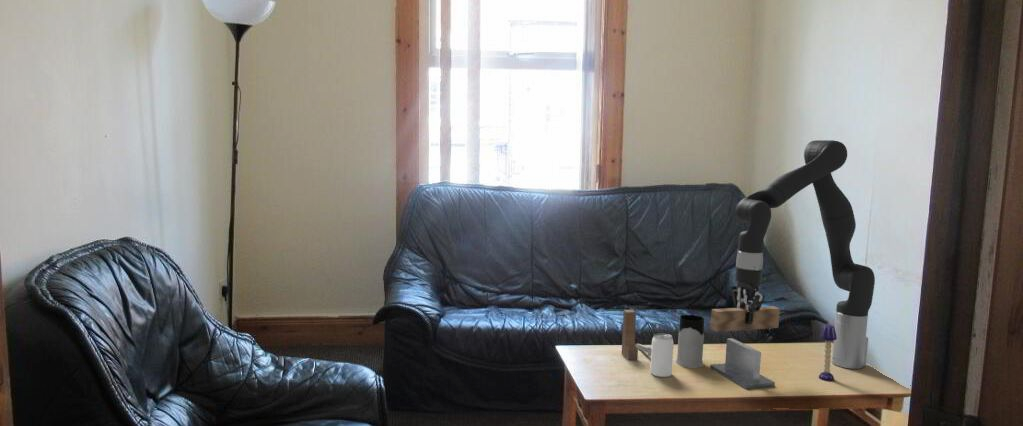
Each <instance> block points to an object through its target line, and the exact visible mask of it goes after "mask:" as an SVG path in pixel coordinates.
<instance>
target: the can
mask: <svg viewBox="0 0 1023 426" xmlns="http://www.w3.org/2000/svg"><path fill="white" fill-rule="evenodd" d="M674 342H675V341H674V340H673V335H671V334H668V333H659V332H658V333H654V334H653V337H652V340H651V347H652V349H651V356H650V367H649V369H650V370H649V371H650V372H649V373H650V374H651V375H652V376H654V377H657V378H669V377H671V376H672V375H673V364H674Z"/></svg>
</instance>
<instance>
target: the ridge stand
mask: <svg viewBox="0 0 1023 426" xmlns="http://www.w3.org/2000/svg"><path fill="white" fill-rule="evenodd" d="M725 344H726V347H725V361H724V362H725V363H715V364H710V365H709V366H710V367H709V368H710V369H711V370H712V371H714V372H716V373H717V374H719V375H721V376H723V377H724V378H726V379H727V380H730V381H731V382H733V383H734V384H736V385H738V386H740V388H741V387H742V389H744V390H752V389H761V388H762V389H763V388H774V387H776V386H775V385H776V382H775V381H773V380H772V379H769V378H768V377H766V376H764V375H762V374H760V373H761V361H762V360H761V359H762V351H760V350H757V349H756V348H753V347H751V346H750V345H747V344H745V343H743V342H741V341H739V340H737V339H735V338H729V337H728V338H727V339H726V343H725Z"/></svg>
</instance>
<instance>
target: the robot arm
mask: <svg viewBox="0 0 1023 426" xmlns="http://www.w3.org/2000/svg"><path fill="white" fill-rule="evenodd" d="M803 157H804V158H803V159H804V163H805V164H804V165H802V166H800V167H798V168H795V169H793V170H791V171H788V172H786V173H784V174H781V175H780V176H778V177H777V178H776V179H774V180H773V181H771V183H769V184H767V185H766V186H765V187H764V188H762V189H760V190H758V191H755V192H753V193H751V194H749V195H747V196H746V197H744V198H742V199H741V200H740V201H739V202H738V203H737V205H736V207H735V216H736V218H737V219H738V220H739V221H741V222H743V223H748V224H749V225H748V228H747V230H743V231H741V232H740V233H739V236H738V243H737V244H738V246H737V254H736V261H735V272H734V273H735V275H734V280H735V281H736V282H737V283H736V285H731V286H730V291H731V296H732V297H731V298H732V301H733V306H736V308H745V307H746V317H745V324H747V325H748V324H752V323H753V314H754V312H758V311H759V310H760V308H761V307H762V305H763V303H764V300H765V297H766V296H765V294H761V293H760V290H759V289H760V288H759V284H762V281H763V280H762V277H763V267H764V265H763V263H764V256H763V255H764V253H763V252H764V240H765V237H766V234H767V232H768V229H769V225H770V223H771V219H772V209H775V208H779V207H780V206H782V205H784V204H785V203H786V202H788V200H790V199H791V198H793V196H795V195H796V194H798V193H799V192H801V191H802V190H804V189H805V188H806V187H808V186H809V185H812V186H813V189H814V193H815V196H816V199H817V204H818V208H819V211H820V217H821V222H822V225H823V228H824V231H825V237H826V241H827V245H828V250H829V256H830V265H831V273H832V279H833V281H834V284H835V285H836V286H837V288H838V289H841V290H843V291H846V292H849V293H848V297H847V300H841V301H838V302H837V304H836V309H835V310H836V311H835V320H834V321H835V322H834V327H835V332H836V336H837V339H836V340H833V345H832V346H833V347H832V354H831V357H832V358H831V363H832V364H833V365H835V366H837V367H841V368H845V369H850V370H852V369H853V370H856V369H857V370H859V369H863V368H864V367H866V365H867V357H868V354H867V353H868V346H869V345H868V344H869V337H867V329H868V318H869V311H870V309H871V306H872V304H873V303H872V302H873V296H874V290H875V284H876V283H875V282H876V279H875V277H876V276H875V273H874V270H873V269H872V268H871V267H869V266H866V265H862V264H858V263H855V262H854V261H853V258H852V254H851V248H850V246H851V245H850V244H851V242H852V239H853V238H854V234H855V231H856V227H857V226H856V225H857V223H856V217H855V214H854V209H853V207H852V204H851V201H850V200H849V199H848V198H847V196H846V195H845V193H844V192H843V191H842V190H841V189H840V188H839V186H838V185H837V183H836V182H835V180H834V178H833V175H832V174H833V172H835V171H837V170H839V169H840V168H842V166H844V165H845V163H846V161H847V160H848V159H847V158H848V149H847V147H846V144H844V143H843V142H841V141H839V140H833V139H831V140H829V139H828V140H812V141H809V142H808V143H807V144H806V145H805V147H804V152H803Z"/></svg>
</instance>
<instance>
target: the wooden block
mask: <svg viewBox="0 0 1023 426" xmlns="http://www.w3.org/2000/svg"><path fill="white" fill-rule="evenodd" d="M622 317H623V319H622V333H621V334H622V335H621V336H622V337H621V340H622V341H621V355H623V357H624V358H626V360H628V361H634V360H635V361H637V360H638V358H639V349H638V348H637V347H636V322H637V312H636V311H635V310H634V309H623V315H622Z"/></svg>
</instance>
